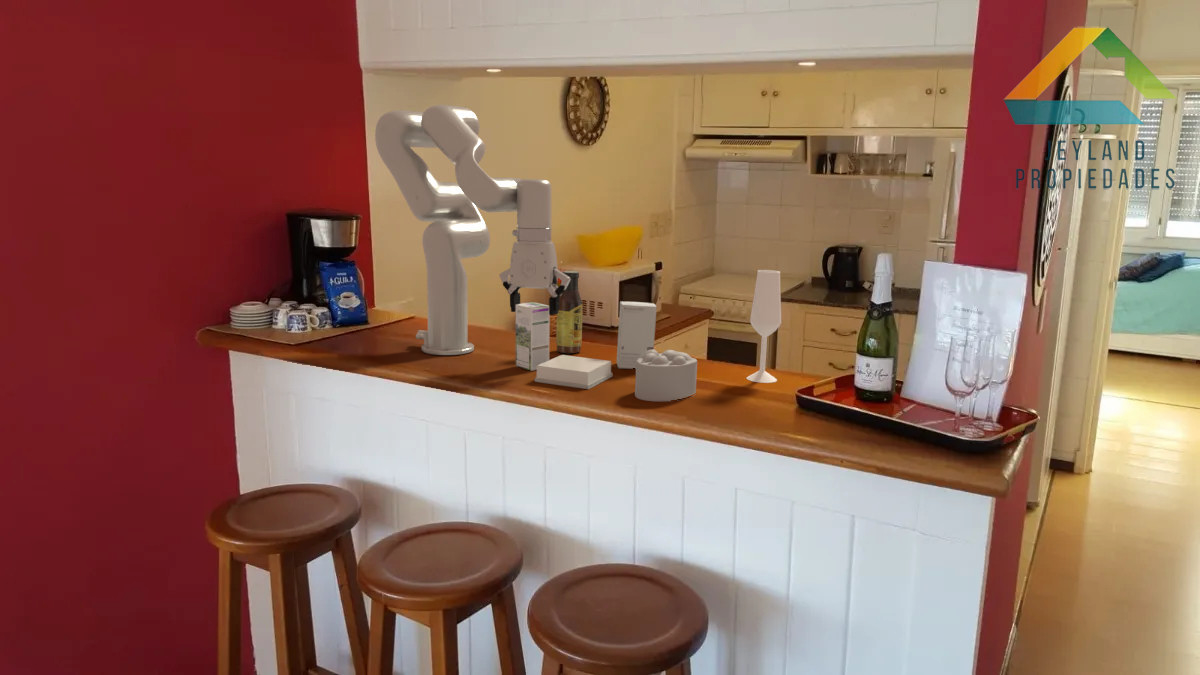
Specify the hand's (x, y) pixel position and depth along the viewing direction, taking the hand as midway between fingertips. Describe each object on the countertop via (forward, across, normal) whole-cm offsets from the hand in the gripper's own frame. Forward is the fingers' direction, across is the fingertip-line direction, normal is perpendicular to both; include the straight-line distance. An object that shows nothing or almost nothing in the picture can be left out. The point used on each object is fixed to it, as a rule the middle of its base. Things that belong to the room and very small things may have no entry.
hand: (534, 312), depth 194 cm
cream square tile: (+13, +12, -5) cm, 18 cm away
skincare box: (+13, +19, +13) cm, 27 cm away
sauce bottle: (+13, -1, +19) cm, 23 cm away
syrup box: (+13, -1, 0) cm, 13 cm away
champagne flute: (+14, +48, +16) cm, 53 cm away
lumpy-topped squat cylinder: (+14, +33, -7) cm, 37 cm away
